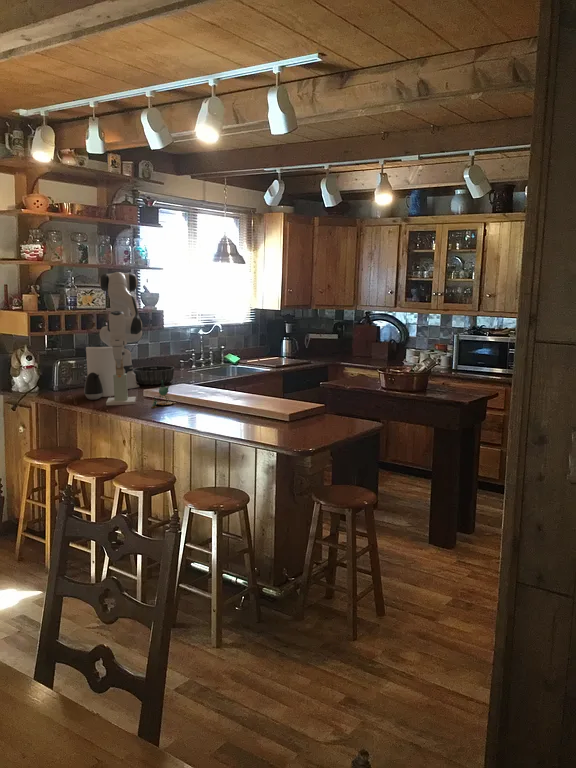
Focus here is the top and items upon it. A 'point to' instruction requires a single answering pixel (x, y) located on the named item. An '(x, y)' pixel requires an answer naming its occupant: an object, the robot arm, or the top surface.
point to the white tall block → (102, 367)
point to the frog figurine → (163, 392)
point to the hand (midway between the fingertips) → (119, 366)
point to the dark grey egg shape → (93, 387)
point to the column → (120, 370)
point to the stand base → (120, 392)
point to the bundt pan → (154, 374)
